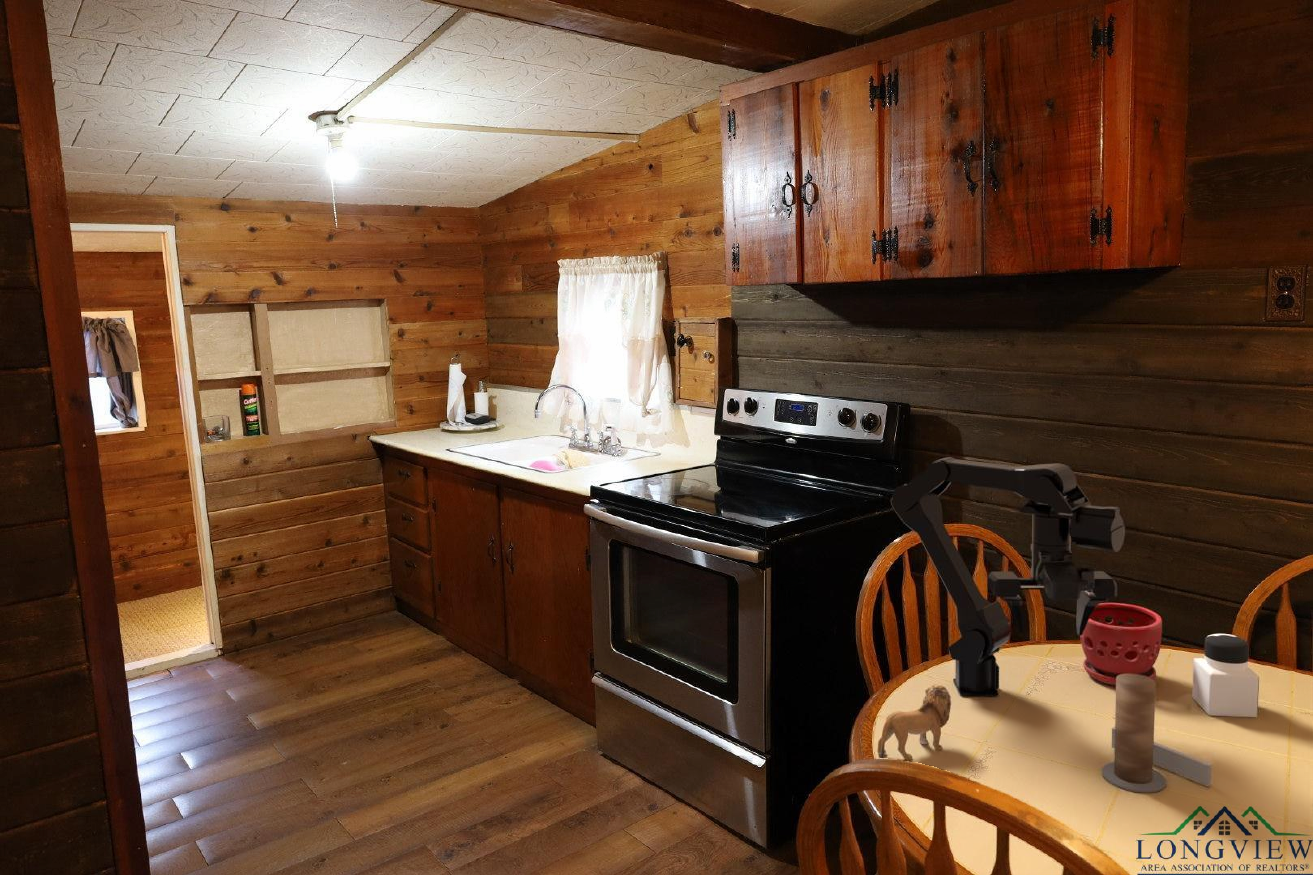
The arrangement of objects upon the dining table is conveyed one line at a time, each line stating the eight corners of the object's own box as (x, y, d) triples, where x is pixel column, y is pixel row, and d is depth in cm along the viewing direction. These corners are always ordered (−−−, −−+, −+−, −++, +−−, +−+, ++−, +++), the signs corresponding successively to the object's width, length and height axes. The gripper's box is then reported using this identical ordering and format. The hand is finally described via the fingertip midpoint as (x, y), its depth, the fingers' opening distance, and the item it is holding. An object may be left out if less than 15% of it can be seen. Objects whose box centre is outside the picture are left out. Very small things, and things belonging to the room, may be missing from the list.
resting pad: (1114, 791, 121) (1114, 789, 121) (1093, 763, 129) (1093, 760, 129) (1176, 793, 120) (1176, 791, 120) (1151, 764, 128) (1151, 762, 128)
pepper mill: (1113, 779, 124) (1115, 683, 122) (1114, 763, 128) (1117, 671, 126) (1152, 786, 121) (1155, 689, 120) (1152, 770, 125) (1155, 676, 124)
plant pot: (1068, 663, 166) (1069, 601, 164) (1142, 664, 164) (1144, 602, 162) (1092, 692, 153) (1093, 625, 151) (1173, 693, 151) (1175, 626, 150)
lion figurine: (932, 730, 141) (932, 677, 140) (960, 743, 137) (960, 687, 136) (866, 757, 134) (866, 700, 132) (893, 771, 129) (893, 713, 128)
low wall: (1111, 746, 134) (1112, 728, 133) (1114, 745, 134) (1115, 726, 134) (1207, 786, 122) (1208, 765, 121) (1211, 784, 122) (1211, 764, 122)
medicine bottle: (1258, 718, 141) (1261, 646, 139) (1208, 716, 142) (1211, 644, 141) (1238, 699, 148) (1241, 630, 146) (1191, 697, 149) (1194, 629, 148)
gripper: (1003, 555, 137) (1003, 652, 139) (1132, 554, 134) (1129, 653, 136) (986, 537, 148) (986, 627, 150) (1105, 536, 145) (1103, 628, 147)
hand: (1049, 634), depth 145 cm, fingers open, 9 cm apart
